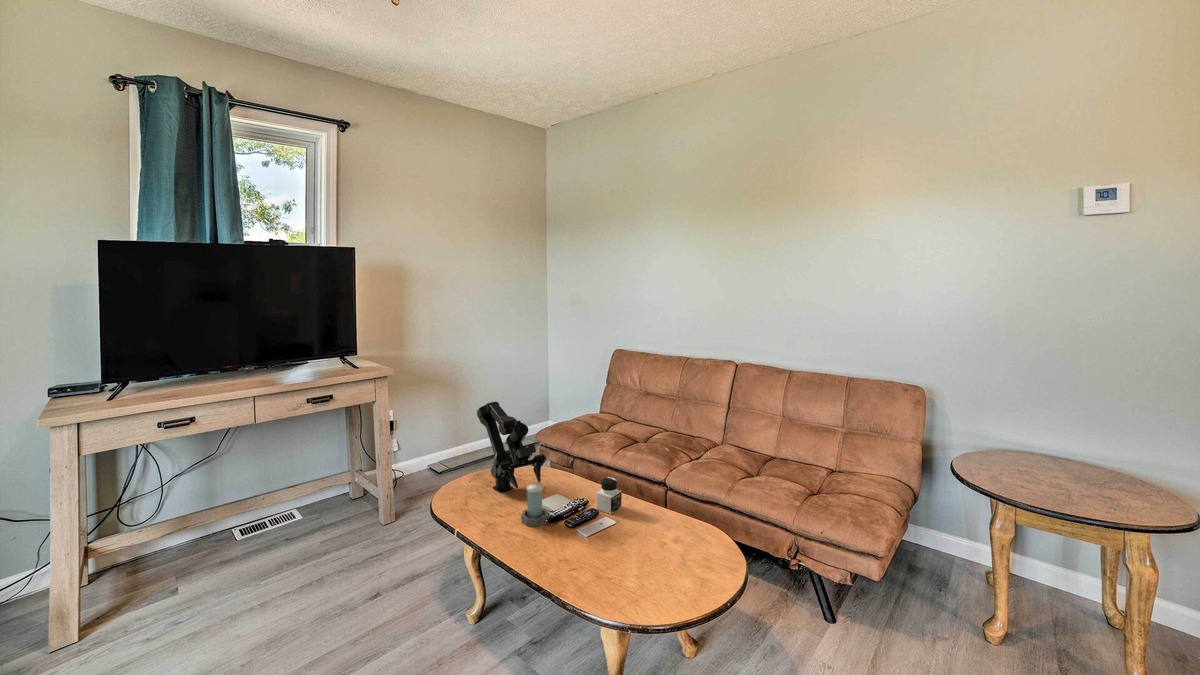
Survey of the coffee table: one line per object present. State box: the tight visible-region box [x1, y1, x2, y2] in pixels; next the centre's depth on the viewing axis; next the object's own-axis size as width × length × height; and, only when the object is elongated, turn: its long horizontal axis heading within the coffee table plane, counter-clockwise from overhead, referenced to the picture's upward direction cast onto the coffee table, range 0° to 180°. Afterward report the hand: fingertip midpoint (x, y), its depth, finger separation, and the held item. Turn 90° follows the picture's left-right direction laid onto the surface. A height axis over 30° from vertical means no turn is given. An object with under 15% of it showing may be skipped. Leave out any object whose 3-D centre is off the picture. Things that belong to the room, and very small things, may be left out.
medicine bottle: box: [596, 476, 623, 515], centre depth 189 cm, size 7×7×12 cm
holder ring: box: [521, 507, 549, 527], centre depth 181 cm, size 10×10×2 cm
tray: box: [542, 493, 584, 516], centre depth 191 cm, size 16×10×1 cm, turn 44°
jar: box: [526, 482, 543, 518], centre depth 181 cm, size 6×6×13 cm
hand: (528, 485), depth 184 cm, fingers open, 9 cm apart
